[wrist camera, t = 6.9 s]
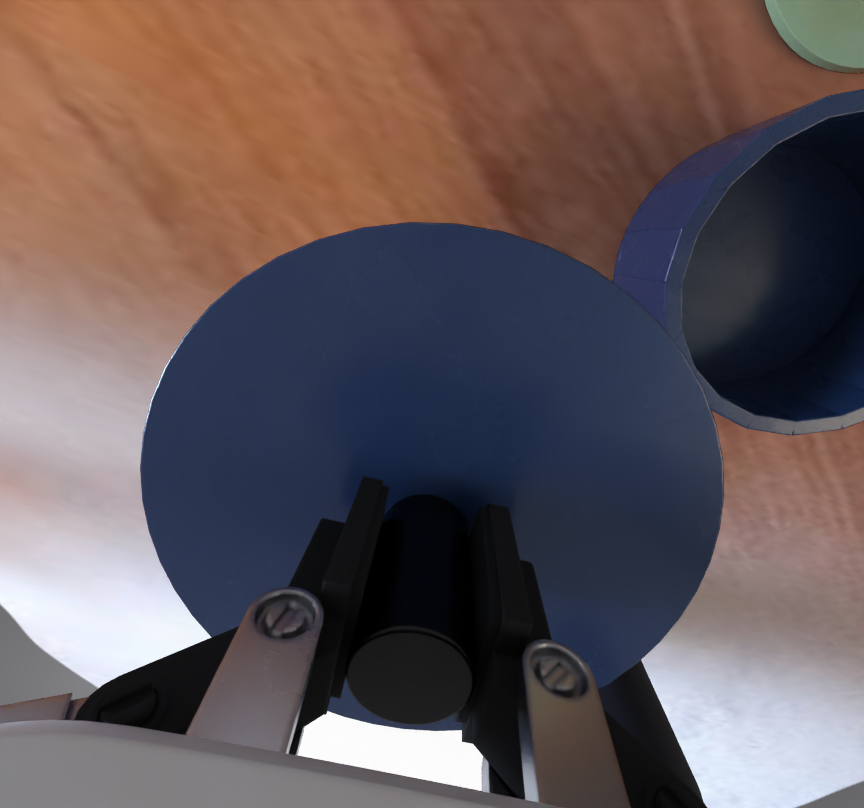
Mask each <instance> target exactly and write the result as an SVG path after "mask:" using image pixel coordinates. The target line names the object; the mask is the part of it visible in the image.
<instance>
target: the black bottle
mask: <svg viewBox="0 0 864 808" xmlns="http://www.w3.org/2000/svg"><path fill="white" fill-rule="evenodd" d="M598 692H599V696H600V700H601V703H602V707H603V709H604V710H605V711H606V712H607V713H608V714H609V715H611V716H612V717H613V718H614V719H615V720H616V721H617V722H618V723H619V724H620V725H621V726H623V727H624V728H625V729H626V730H627V731H628V732H629V733H630V734H631V735H632V736H633V737H635V738H636V739H637V740H638V741H639V742H640V743H641V744H642V745H643V746H644V747H645V748H647V749H648V750H649V751H650V752H651V753H652V754H653V755H654V756H655V757H656V758H658V759H659V760H660V761H661V762H662V763H663V764H664V765H665V766H666V767H667V768H668V769H670V770H671V771H672V772H673V773H674V774H675V775H676V776H677V777H678V778H679V779H680V780H682V781H683V782H684V783H685V784H686V785H687V786H688V787H689V788H690V789H691V790H692V791H693V792H694V793H695V794H696V795H697V796H698V797H699V798H700V799H701V800H702V801H703V799H702V796H701V793H700V789H699V787H698V785H697V782H696V780H695V778H694V776H693V774H692V771H691V769H690V767H689V765H688V763H687V760H686V758H685V756H684V754H683V752H682V749H681V747H680V745H679V743H678V741H677V738H676V736H675V734H674V732H673V730H672V727H671V725H670V723H669V721H668V719H667V716H666V714H665V712H664V710H663V708H662V705H661V703H660V701H659V699H658V697H657V694H656V692H655V690H654V688H653V686H652V683H651V681H650V679H649V677H648V675H647V672H646V670H645V668H644V666H643V664H642V661H641V660H640V661H639V662H638V663H637V664H635V665H634V666H633V667H631V668H630V669H629V670H627V671H626V672H624V673H623V674H622V675H620V676H619V677H618V678H616V679H615V680H614V681H612V682H611V683H609V684H607V685H605V686H604V687H602V688H600V689H598Z"/></svg>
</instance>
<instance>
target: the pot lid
mask: <svg viewBox="0 0 864 808" xmlns="http://www.w3.org/2000/svg"><path fill="white" fill-rule="evenodd" d="M140 472H141V487H142V501H143V505H144V510H145V515H146V519H147V524H148V529H149V533H150V536H151V538H152V541H153V544H154V546H155V549H156V552H157V555H158V557H159V560H160V563H161V565H162V566H163V568H164V570H165V572H166V574H167V576H168V578H169V580H170V582H171V584H172V586H173V588H174V589H175V591H176V592H177V594H178V595H179V597H180V598H181V600H182V601H183V603H184V604H185V605H186V607H187V608H188V610H189V611H190V613H191V614H192V616H193V617H194V618H195V619H196V620H197V621H198V622H199V624H200V625H201V626H202V627H203V628H204V629H205V630H206V631H207V633H208V634H209V635H210V636H211V637H214V636H217V635H219V634H222V633H224V632H226V631H229V630H231V629H234V628H236V627H238V626H240V624H241V621H242V619H243V617H244V615H245V613H246V611H247V609H248V608H249V606H250V605H251V604H252V602H253V601H254V600H255V599H256V598H257V597H259V596H260V595H261V594H263V593H264V592H267V591H269V590H272V589H274V588H280V587H288V586H289V584H290V582H291V580H292V578H293V576H294V574H295V572H296V570H297V567H298V565H299V563H300V561H301V559H302V557H303V555H304V553H305V551H306V549H307V547H308V545H309V543H310V541H311V538H312V536H313V534H314V532H315V530H316V528H317V526H318V524H319V522H320V520H321V519H322V518H325V519H330V520H334V521H339V522H344V523H345V522H346V520H347V517H348V514H349V512H350V509H351V507H352V504H353V502H354V499H355V496H356V494H357V491H358V489H359V486H360V484H361V481H362V478H363V476H365V477H370V478H375V479H379V480H383V485H382V486H386V487H390V489H389V494H388V498H387V503H386V508H385V512H384V517H383V522H382V526H381V530H380V534H379V538H378V542H377V546H376V550H375V554H374V558H373V562H372V566H371V570H370V573H369V577H368V581H367V585H366V589H365V593H364V597H363V601H362V605H361V609H360V613H359V617H358V621H357V625H356V629H355V632H354V636H353V640H352V644H351V647H350V650H349V653H348V657H347V661H346V667H345V674H346V678H345V682H344V686H343V690H342V694H341V698H340V699H339V698H334V697H331V698H330V702H329V706H328V709H327V711H330V712H332V713H335V714H338V715H341V716H344V717H348V718H352V719H356V720H360V721H363V722H367V723H371V724H376V725H383V726H389V727H395V728H402V729H414V730H430V731H447V730H462V723H459V722H455V721H454V714H456V713H457V712H459V711H460V710H461V709H462V708H463V707H464V706H465V705H466V704H467V703H468V701H469V700H470V698H471V696H472V694H473V691H474V689H475V685H476V660H475V641H474V623H473V605H472V587H471V569H470V551H469V538H470V535H471V531H472V528H473V525H474V521H475V518H476V515H477V511H478V509H479V507H484V508H486V506H487V504H488V503H490V504H495V505H500V506H504V507H508V508H509V511H510V515H511V520H512V525H513V530H514V534H515V539H516V544H517V548H518V553H519V558H520V560H523V561H528V562H531V563H532V564H533V567H534V570H535V574H536V578H537V582H538V586H539V590H540V594H541V598H542V602H543V606H544V610H545V614H546V618H547V622H548V626H549V630H550V634H551V638H552V640H553V641H556V642H559V643H562V644H564V645H566V646H567V647H569V648H570V649H572V650H574V651H575V652H576V653H577V654H578V655H579V656H580V657H581V658H582V659H583V660H584V661H585V662H586V664H587V665H588V666H589V668H590V669H591V672H592V674H593V676H594V679H595V682H596V685H597V689H600V688H602V687H604V686H605V685H607V684H609V683H611V682H612V681H614V680H615V679H616V678H618V677H619V676H620V675H622V674H623V673H624V672H626V671H627V670H629V669H630V668H631V667H633V666H634V665H635V664H637V663H638V662H639V661H640V660H641V659H642V658H643V657H644V656H645V655H646V654H647V653H649V652H650V651H651V650H652V649H653V648H654V647H655V646H656V645H657V644H658V643H659V642H660V641H661V640H662V639H663V638H664V636H665V635H666V634H667V633H668V632H669V630H670V629H671V628H672V627H673V626H674V624H675V623H676V622H677V621H678V620H679V618H680V617H681V615H682V614H683V612H684V611H685V609H686V608H687V606H688V604H689V603H690V601H691V600H692V598H693V597H694V595H695V593H696V592H697V590H698V588H699V586H700V583H701V581H702V579H703V577H704V575H705V572H706V570H707V568H708V566H709V564H710V561H711V558H712V555H713V551H714V548H715V544H716V541H717V537H718V534H719V530H720V524H721V516H722V508H723V500H724V475H723V457H722V452H721V447H720V442H719V437H718V431H717V426H716V422H715V420H714V417H713V414H712V411H711V409H710V406H709V403H708V400H707V398H706V395H705V392H704V389H703V387H702V385H701V384H700V382H699V380H698V378H697V376H696V375H695V373H694V371H693V369H692V367H691V366H690V364H689V362H688V360H687V358H686V357H685V355H684V353H683V352H682V351H681V349H680V348H679V347H678V346H677V344H676V343H675V342H674V341H673V339H672V338H671V337H670V335H669V334H668V333H667V332H666V330H665V329H664V328H663V327H662V325H661V324H660V323H659V321H658V320H657V319H655V318H654V317H653V316H652V315H651V314H650V313H649V312H648V311H647V310H646V309H645V308H644V307H643V306H642V305H641V304H639V303H638V302H637V301H636V300H635V299H634V298H633V297H632V296H631V295H630V294H629V293H628V292H627V291H625V290H624V289H622V288H621V287H619V286H618V285H616V284H615V283H613V282H612V281H611V280H609V279H608V278H606V277H605V276H603V275H602V274H600V273H599V272H597V271H596V270H595V269H593V268H592V267H590V266H588V265H586V264H584V263H582V262H580V261H578V260H576V259H574V258H572V257H570V256H568V255H566V254H564V253H562V252H560V251H558V250H556V249H554V248H551V247H549V246H547V245H544V244H541V243H537V242H534V241H531V240H528V239H525V238H522V237H519V236H516V235H513V234H510V233H506V232H503V231H497V230H491V229H486V228H480V227H474V226H468V225H462V224H453V223H418V222H408V223H399V224H390V225H381V226H372V227H363V228H359V229H356V230H352V231H348V232H344V233H340V234H337V235H333V236H329V237H325V238H321V239H318V240H316V241H313V242H311V243H309V244H306V245H304V246H302V247H299V248H297V249H295V250H292V251H290V252H287V253H285V254H283V255H280V256H278V257H276V258H275V259H273V260H272V261H270V262H268V263H267V264H265V265H263V266H262V267H260V268H259V269H257V270H255V271H254V272H252V273H250V274H249V275H247V276H246V277H244V278H242V279H241V280H240V281H239V282H237V283H236V284H235V285H234V286H233V287H232V288H230V289H229V290H228V291H227V292H226V293H224V294H223V295H222V296H221V297H220V298H219V299H217V300H216V301H215V302H214V303H213V304H211V305H210V307H209V308H208V309H207V310H206V311H205V312H204V313H203V315H202V316H201V317H200V318H199V319H198V320H197V322H196V323H195V324H194V325H193V326H192V327H191V329H190V330H189V331H188V332H187V333H186V334H185V336H184V337H183V339H182V341H181V342H180V344H179V345H178V347H177V349H176V350H175V352H174V354H173V355H172V357H171V358H170V360H169V362H168V363H167V365H166V367H165V369H164V371H163V374H162V376H161V378H160V381H159V383H158V385H157V388H156V390H155V393H154V395H153V397H152V400H151V403H150V408H149V412H148V416H147V420H146V424H145V428H144V432H143V440H142V453H141V465H140Z"/></svg>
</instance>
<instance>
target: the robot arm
mask: <svg viewBox="0 0 864 808" xmlns="http://www.w3.org/2000/svg"><path fill="white" fill-rule="evenodd" d="M382 485H383V480H379V479H375V478H370V477H365V476H363V478H362V481H361V484H360V486H359V489H358V491H357V494H356V496H355V499H354V502H353V504H352V507H351V509H350V512H349V514H348V517H347V520H346V522H345V523H344V522H339V521H334V520H330V519H325V518H322V519H321V520H320V522H319V524H318V526H317V528H316V530H315V532H314V534H313V536H312V538H311V541H310V543H309V545H308V547H307V549H306V551H305V553H304V555H303V557H302V559H301V561H300V563H299V565H298V567H297V570H296V572H295V574H294V576H293V578H292V580H291V582H290V584H289V586H288V587H280V588H274V589H272V590H269V591H267V592H264V593H263V594H261V595H260V596H259V597H257V598H256V599H255V600H254V601H253V602H252V604H251V605H250V606H249V608H248V609H247V611H246V613H245V615H244V617H243V619H242V621H241V624H240V626H238V627H236V628H234V629H231V630H229V631H226V632H224V633H222V634H219V635H217V636H214V637H212V638H210V639H207V640H205V641H202V642H200V643H198V644H195V645H193V646H190V647H188V648H186V649H183V650H181V651H178V652H176V653H174V654H171V655H169V656H166V657H164V658H162V659H159V660H157V661H154V662H152V663H150V664H147V665H145V666H142V667H140V668H138V669H135V670H133V671H130V672H128V673H126V674H123V675H121V676H119V677H117V678H115V679H113V680H111V681H109V682H107V683H106V684H104V685H102V686H101V687H100V688H99V689H98V690H96V691H95V692H94V693H93V694H91V695H90V696H89V697H87V698H81V699H76V700H73V693H69V694H63V695H58V696H52V697H47V698H41V699H35V700H30V701H25V702H19V703H13V704H8V705H2V706H0V808H707V807H706V805H705V804H704V802H703V801H702V800H701V799H700V798H699V797H698V796H697V795H696V794H695V793H694V792H693V791H692V790H691V789H690V788H689V787H688V786H687V785H686V784H685V783H684V782H683V781H682V780H680V779H679V778H678V777H677V776H676V775H675V774H674V773H673V772H672V771H671V770H670V769H668V768H667V767H666V766H665V765H664V764H663V763H662V762H661V761H660V760H659V759H658V758H656V757H655V756H654V755H653V754H652V753H651V752H650V751H649V750H648V749H647V748H645V747H644V746H643V745H642V744H641V743H640V742H639V741H638V740H637V739H636V738H635V737H633V736H632V735H631V734H630V733H629V732H628V731H627V730H626V729H625V728H624V727H623V726H621V725H620V724H619V723H618V722H617V721H616V720H615V719H614V718H613V717H612V716H611V715H609V714H608V713H607V712H606V711H605V710H604V709H603V707H602V703H601V700H600V696H599V692H598V689H597V685H596V682H595V679H594V676H593V674H592V672H591V669H590V668H589V666H588V665H587V664H586V662H585V661H584V660H583V659H582V658H581V657H580V656H579V655H578V654H577V653H576V652H575V651H574V650H572V649H570V648H569V647H567V646H566V645H564V644H562V643H559V642H556V641H553V640H552V638H551V634H550V630H549V626H548V622H547V618H546V614H545V610H544V606H543V602H542V598H541V594H540V590H539V586H538V582H537V578H536V574H535V570H534V567H533V564H532V563H531V562H528V561H523V560H520V558H519V553H518V548H517V544H516V539H515V534H514V530H513V525H512V520H511V515H510V511H509V508H508V507H504V506H500V505H495V504H490V503H488V504H487V506H486V508H484V507H479V509H478V511H477V515H476V518H475V521H474V525H473V528H472V531H471V535H470V538H469V551H470V569H471V587H472V605H473V623H474V641H475V660H476V685H475V689H474V691H473V694H472V696H471V698H470V700H469V701H468V703H467V704H466V705H465V706H464V707H463V708H462V709H461V710H460V711H459V712H457V713H456V714H454V721H455V722H459V723H462V742H467V743H472V744H474V745H475V746H476V748H477V749H478V750H479V751H480V753H481V754H482V755H483V762H482V791H478V790H473V789H468V788H463V787H457V786H452V785H447V784H442V783H437V782H432V781H427V780H422V779H417V778H411V777H406V776H401V775H396V774H391V773H386V772H380V771H375V770H370V769H365V768H360V767H355V766H350V765H344V764H339V763H334V762H328V761H323V760H318V759H312V758H307V757H302V756H297V755H298V752H299V748H300V744H301V740H302V736H303V732H304V726H306V725H308V724H309V723H311V722H312V721H314V720H315V719H317V718H319V717H320V716H322V715H323V714H326V713H327V709H328V706H329V702H330V698H331V697H334V698H339V699H340V698H341V694H342V690H343V686H344V682H345V678H346V674H345V667H346V661H347V657H348V653H349V650H350V647H351V644H352V640H353V636H354V632H355V629H356V625H357V621H358V617H359V613H360V609H361V605H362V601H363V597H364V593H365V589H366V585H367V581H368V577H369V573H370V570H371V566H372V562H373V558H374V554H375V550H376V546H377V542H378V538H379V534H380V530H381V526H382V522H383V517H384V512H385V508H386V503H387V498H388V494H389V489H390V487H386V486H382Z"/></svg>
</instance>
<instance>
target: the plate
mask: <svg viewBox="0 0 864 808" xmlns="http://www.w3.org/2000/svg"><path fill="white" fill-rule="evenodd" d="M765 4H766V8H767V10H768V13H769V15H770V18H771V20H772V23H773V24H774V26H775V28H776V29H777V31H778V33H779V34H780V36H781V37H782V39H783V40H784V41H785V42H786V43H787V45H788V46H789V47H790V48H791V49H792V50H793V51H795V52H796V53H797V54H798V55H799V56H801V57H802V58H804V59H805V60H807V61H809V62H810V63H812V64H814V65H816V66H819V67H822V68H825V69H827V70H832V71H838V72H843V73H863V72H864V0H765Z"/></svg>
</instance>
